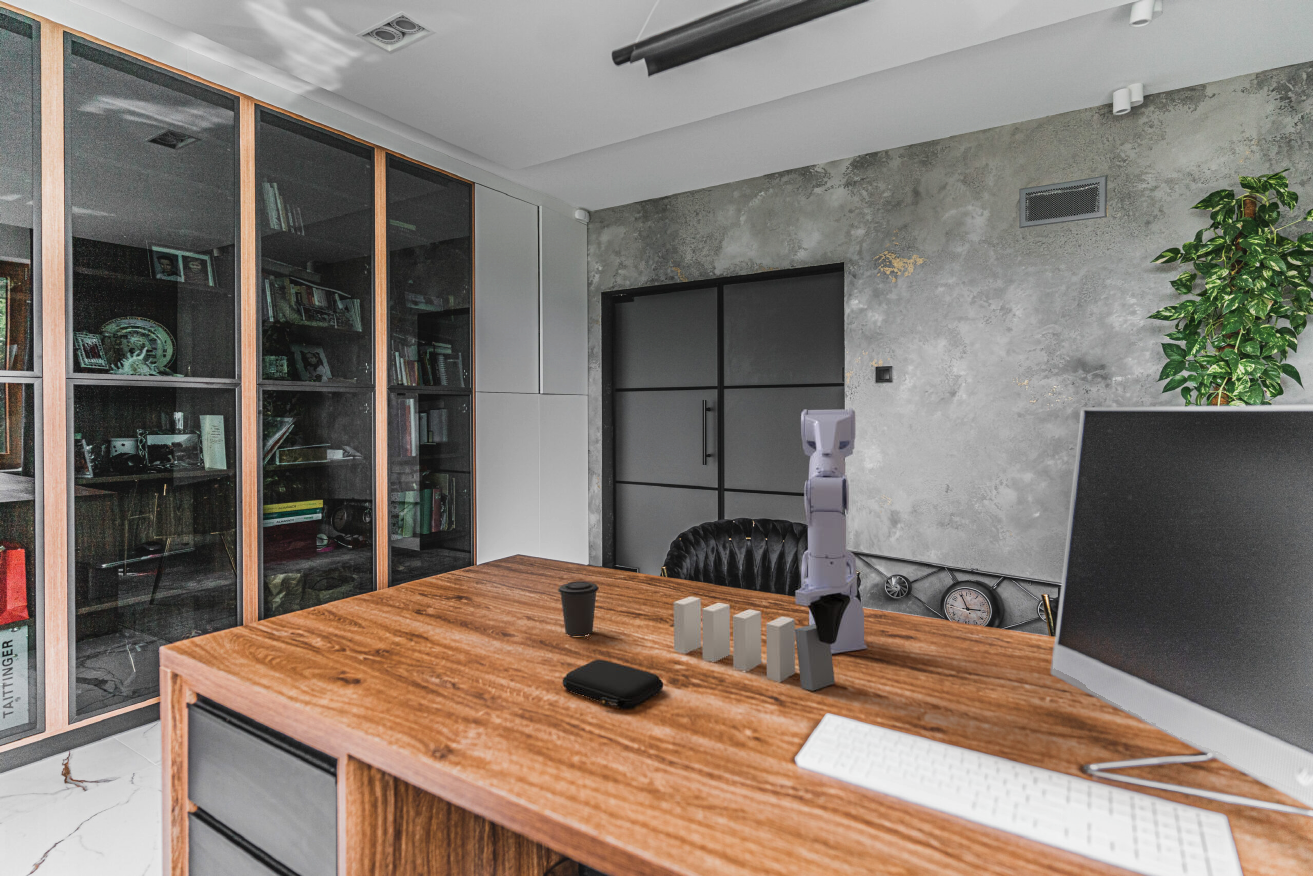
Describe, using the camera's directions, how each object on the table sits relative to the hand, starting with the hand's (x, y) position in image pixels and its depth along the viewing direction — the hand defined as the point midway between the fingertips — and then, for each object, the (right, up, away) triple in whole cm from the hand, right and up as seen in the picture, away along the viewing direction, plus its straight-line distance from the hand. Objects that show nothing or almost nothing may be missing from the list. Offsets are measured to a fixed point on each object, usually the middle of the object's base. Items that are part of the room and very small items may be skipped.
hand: (827, 641), depth 97 cm
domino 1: (-21, -7, +18) cm, 29 cm away
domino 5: (-1, -7, +1) cm, 7 cm away
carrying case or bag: (-34, -8, 0) cm, 35 cm away
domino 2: (-16, -7, +14) cm, 22 cm away
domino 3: (-11, -7, +10) cm, 17 cm away
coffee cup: (-42, -8, +28) cm, 51 cm away
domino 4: (-6, -7, +6) cm, 11 cm away
